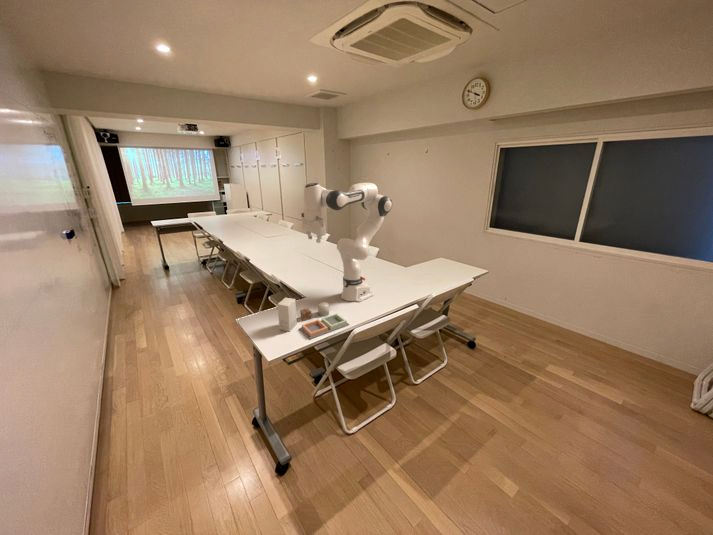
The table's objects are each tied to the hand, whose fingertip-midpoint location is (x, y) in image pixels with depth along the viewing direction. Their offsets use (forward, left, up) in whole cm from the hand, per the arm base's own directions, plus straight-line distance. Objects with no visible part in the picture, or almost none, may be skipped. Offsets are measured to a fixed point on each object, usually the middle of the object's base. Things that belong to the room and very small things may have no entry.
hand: (314, 240), depth 149 cm
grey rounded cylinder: (-2, +4, -44) cm, 44 cm away
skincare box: (+21, +6, -44) cm, 49 cm away
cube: (+9, +3, -44) cm, 45 cm away
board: (+5, +17, -44) cm, 47 cm away
